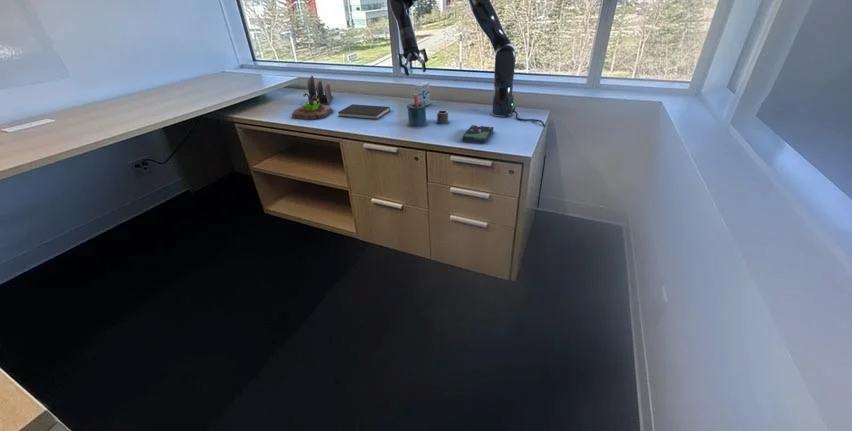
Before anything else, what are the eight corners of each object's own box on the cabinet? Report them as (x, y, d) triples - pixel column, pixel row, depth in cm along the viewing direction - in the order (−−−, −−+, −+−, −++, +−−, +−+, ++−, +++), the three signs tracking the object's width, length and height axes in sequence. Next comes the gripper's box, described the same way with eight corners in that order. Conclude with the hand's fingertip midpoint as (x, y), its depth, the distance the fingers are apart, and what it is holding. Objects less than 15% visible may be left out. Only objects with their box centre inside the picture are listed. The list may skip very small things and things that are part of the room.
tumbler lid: (430, 105, 180) (430, 104, 180) (418, 110, 174) (418, 109, 173) (415, 102, 185) (414, 101, 184) (403, 107, 178) (402, 106, 178)
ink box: (422, 107, 208) (421, 85, 202) (414, 106, 211) (413, 84, 204) (430, 103, 214) (429, 82, 208) (423, 102, 217) (422, 81, 210)
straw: (420, 123, 184) (418, 94, 176) (417, 124, 183) (416, 95, 175) (417, 123, 185) (415, 93, 177) (415, 124, 183) (413, 94, 176)
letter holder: (311, 106, 219) (306, 81, 212) (315, 97, 236) (311, 74, 229) (328, 105, 220) (324, 80, 213) (331, 96, 237) (327, 73, 229)
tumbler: (429, 123, 185) (429, 105, 180) (419, 129, 179) (418, 110, 174) (416, 121, 189) (415, 103, 184) (405, 126, 183) (403, 107, 178)
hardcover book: (377, 119, 193) (376, 115, 192) (338, 116, 201) (337, 112, 199) (390, 110, 206) (389, 106, 205) (353, 108, 213) (352, 103, 212)
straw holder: (450, 122, 185) (450, 111, 182) (444, 125, 182) (443, 114, 179) (441, 120, 188) (441, 109, 185) (435, 123, 184) (435, 112, 182)
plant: (304, 108, 217) (300, 88, 211) (336, 109, 213) (333, 88, 207) (287, 119, 200) (282, 98, 194) (321, 120, 196) (317, 98, 190)
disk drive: (471, 130, 174) (462, 141, 163) (471, 124, 173) (462, 135, 161) (493, 132, 171) (485, 144, 159) (493, 126, 169) (486, 137, 158)
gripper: (395, 39, 176) (403, 75, 180) (423, 34, 179) (431, 69, 182) (392, 43, 183) (401, 78, 187) (420, 38, 186) (428, 72, 190)
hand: (416, 73), depth 185 cm, fingers open, 8 cm apart
